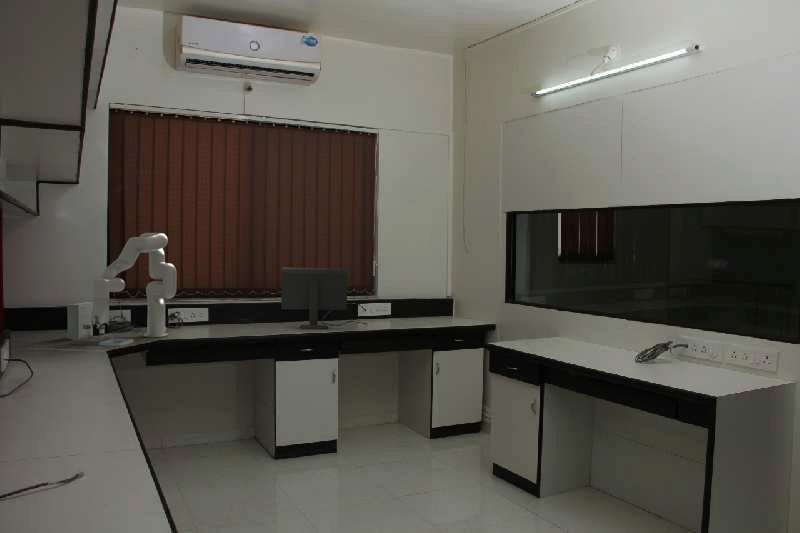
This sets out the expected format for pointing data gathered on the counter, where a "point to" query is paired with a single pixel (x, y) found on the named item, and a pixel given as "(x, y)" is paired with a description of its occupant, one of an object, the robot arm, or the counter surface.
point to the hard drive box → (79, 319)
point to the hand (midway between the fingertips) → (100, 334)
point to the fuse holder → (91, 340)
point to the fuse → (86, 331)
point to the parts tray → (108, 343)
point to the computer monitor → (314, 291)
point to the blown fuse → (101, 332)
